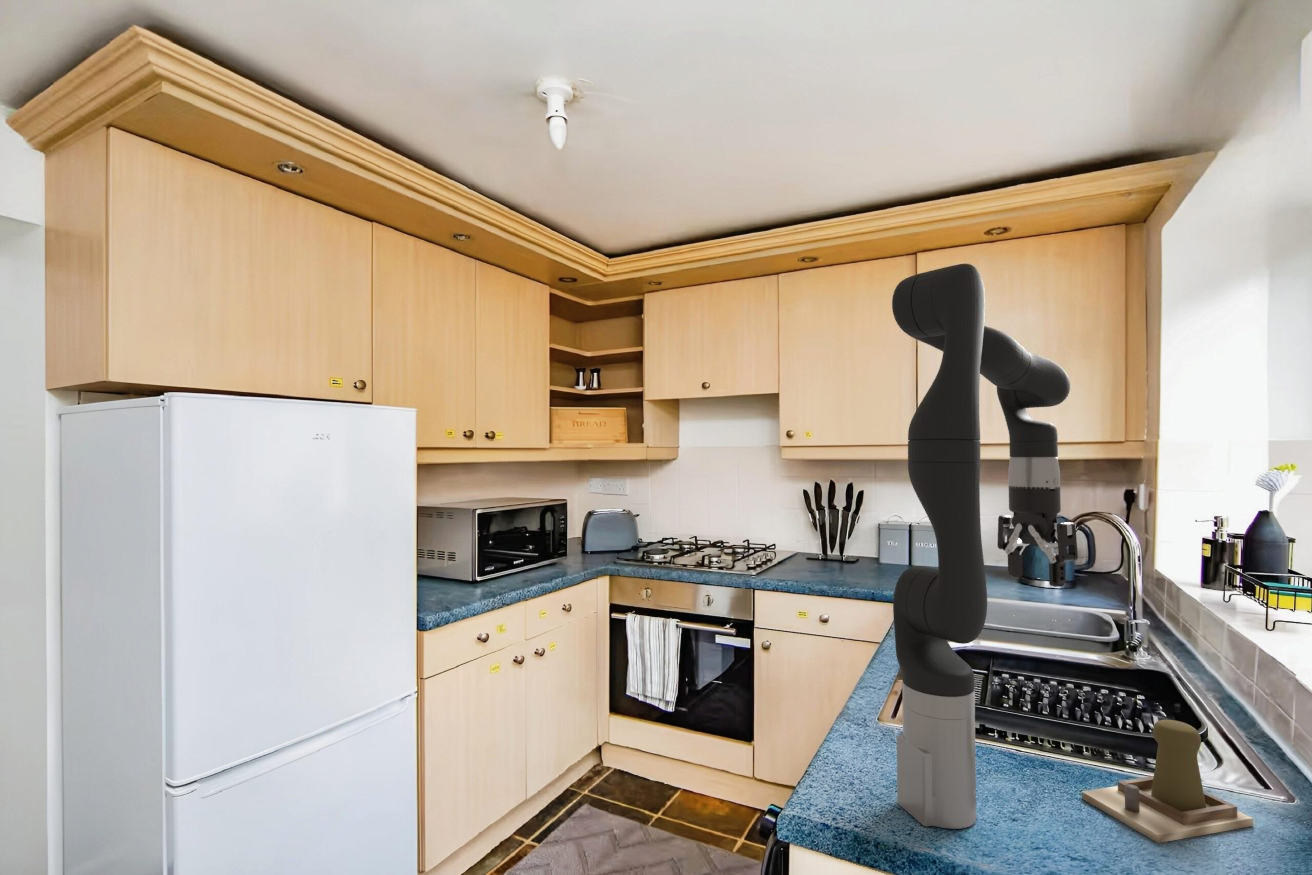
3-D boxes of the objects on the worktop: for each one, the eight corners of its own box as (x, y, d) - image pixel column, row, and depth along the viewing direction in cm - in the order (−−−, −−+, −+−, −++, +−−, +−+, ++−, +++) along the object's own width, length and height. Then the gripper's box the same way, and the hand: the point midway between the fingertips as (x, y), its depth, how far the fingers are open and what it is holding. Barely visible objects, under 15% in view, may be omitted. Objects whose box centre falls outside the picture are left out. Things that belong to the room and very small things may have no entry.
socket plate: (1158, 842, 82) (1157, 810, 82) (1081, 798, 92) (1081, 769, 92) (1253, 825, 85) (1252, 794, 86) (1169, 784, 96) (1168, 757, 96)
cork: (1180, 791, 92) (1178, 713, 92) (1219, 815, 86) (1217, 731, 86) (1139, 792, 92) (1137, 714, 92) (1175, 816, 86) (1173, 732, 86)
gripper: (984, 482, 115) (985, 574, 114) (1050, 486, 101) (1052, 590, 100) (1019, 482, 116) (1021, 572, 116) (1089, 485, 102) (1091, 588, 102)
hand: (1035, 581), depth 108 cm, fingers open, 8 cm apart
